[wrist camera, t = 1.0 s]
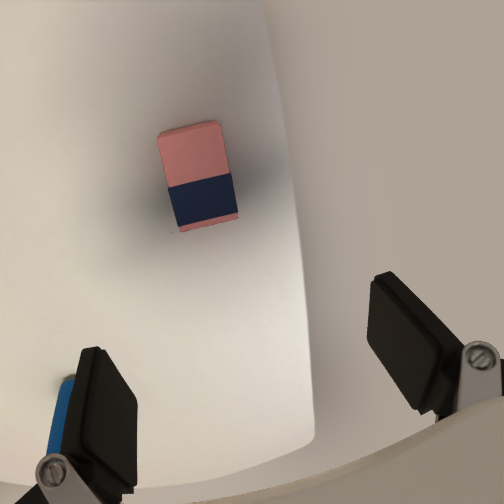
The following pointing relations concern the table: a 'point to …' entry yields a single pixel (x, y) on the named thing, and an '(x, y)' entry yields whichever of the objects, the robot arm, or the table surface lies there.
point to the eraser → (198, 175)
